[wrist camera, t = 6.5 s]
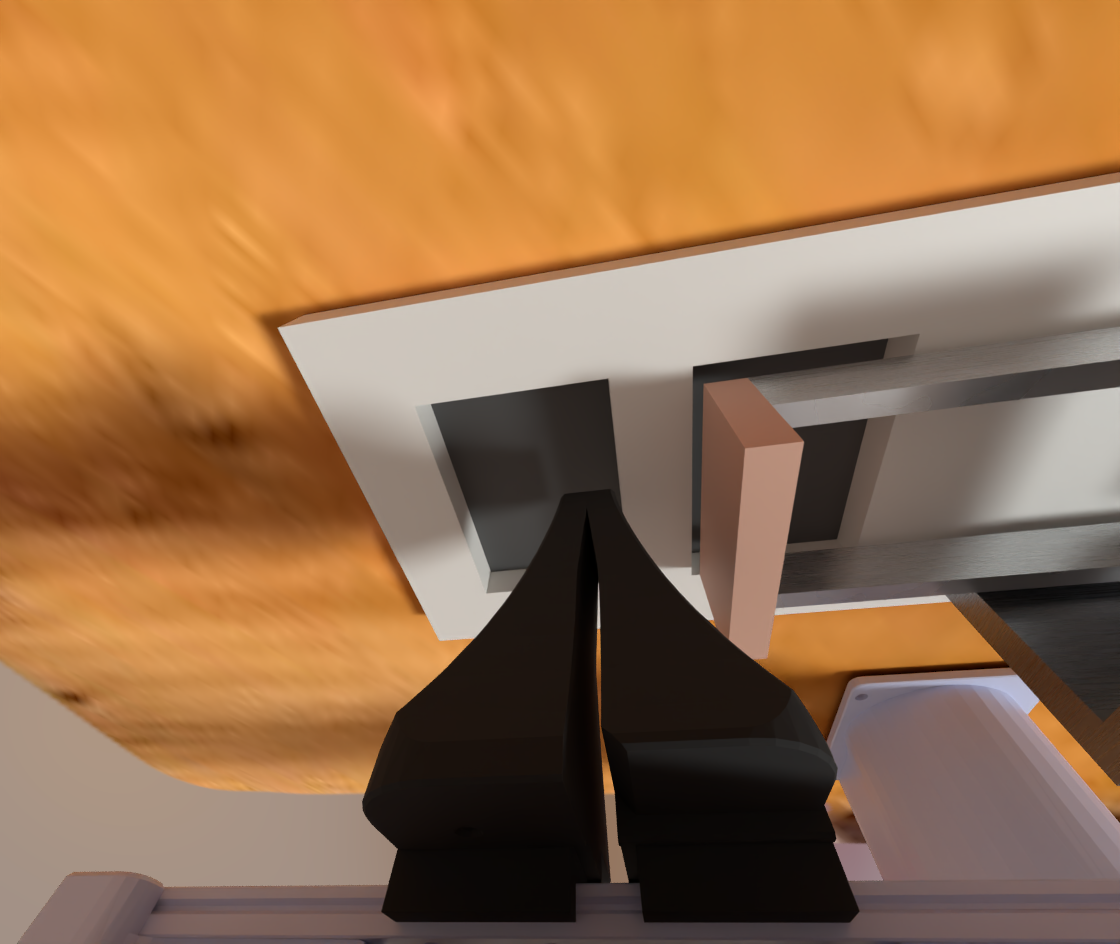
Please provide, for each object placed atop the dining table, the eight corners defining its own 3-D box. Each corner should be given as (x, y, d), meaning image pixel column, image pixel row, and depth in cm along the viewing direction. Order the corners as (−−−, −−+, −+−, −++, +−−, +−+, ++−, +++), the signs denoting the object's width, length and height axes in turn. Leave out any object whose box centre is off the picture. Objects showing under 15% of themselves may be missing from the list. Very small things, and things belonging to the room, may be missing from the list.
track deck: (447, 614, 18) (439, 640, 17) (304, 314, 11) (277, 327, 10) (1339, 540, 14) (1397, 567, 13) (1904, 34, 8) (2108, 11, 7)
